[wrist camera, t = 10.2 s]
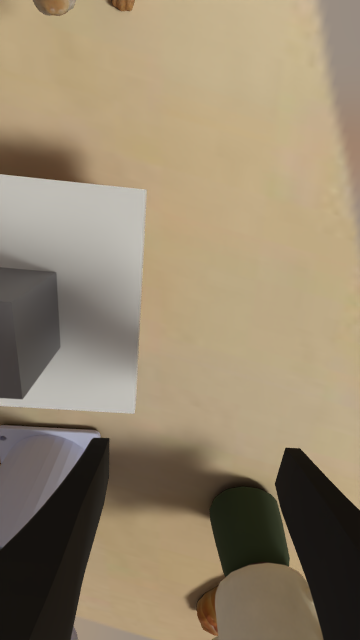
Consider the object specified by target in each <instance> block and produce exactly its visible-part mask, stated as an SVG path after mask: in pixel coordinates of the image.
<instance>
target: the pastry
mask: <svg viewBox="0 0 360 640" xmlns="http://www.w3.org/2000/svg"><path fill="white" fill-rule="evenodd" d="M217 588H218V586H217V587H216V588H214V589H212V590H210V591H208V592H207V593H205V594H204V595H203V597H202V598H201V599H200V600H199V601H198V603H197V616H198V618H199V621H200V623H201V626H202V628H203V630H205V631H207V632H209V633H211V634H213V635H216V636H218V628H217V619H216V610H215V595H216V591H217Z"/></svg>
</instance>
